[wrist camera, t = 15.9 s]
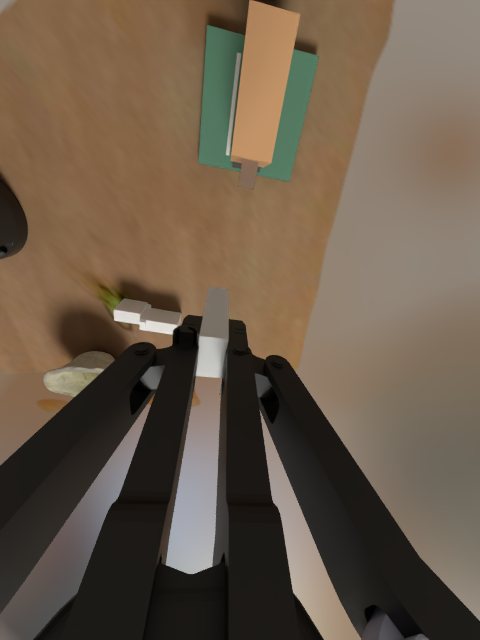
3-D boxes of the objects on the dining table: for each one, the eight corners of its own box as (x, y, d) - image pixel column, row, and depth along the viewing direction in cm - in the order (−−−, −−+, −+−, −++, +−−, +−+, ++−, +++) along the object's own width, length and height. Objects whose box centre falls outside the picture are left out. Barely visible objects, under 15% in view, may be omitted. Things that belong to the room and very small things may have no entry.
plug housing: (227, 185, 34) (227, 184, 28) (244, 42, 27) (249, -1, 21) (259, 191, 34) (265, 191, 28) (284, 52, 27) (300, 14, 21)
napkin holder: (197, 315, 49) (194, 329, 44) (161, 343, 52) (154, 360, 47) (140, 262, 42) (129, 272, 38) (104, 298, 46) (89, 311, 41)
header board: (199, 163, 35) (193, 158, 29) (208, 32, 28) (202, -11, 22) (287, 181, 36) (298, 180, 30) (315, 61, 30) (337, 29, 24)
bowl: (89, 388, 57) (64, 423, 49) (56, 344, 50) (20, 376, 41) (146, 378, 56) (131, 413, 48) (121, 332, 49) (98, 363, 41)
